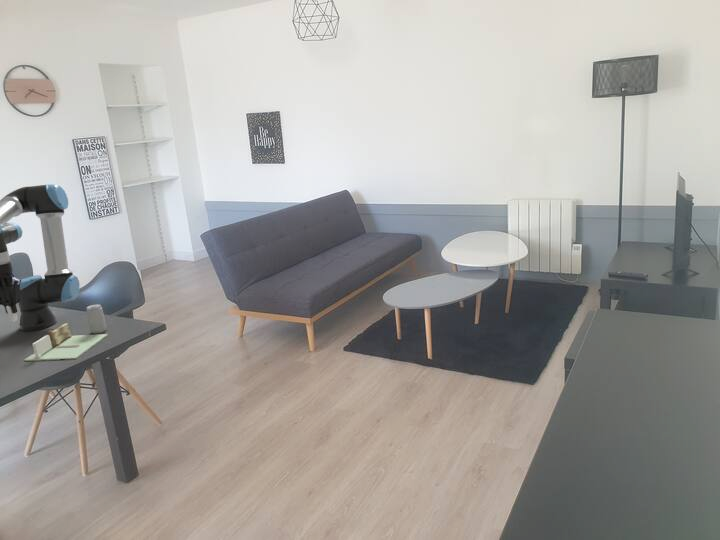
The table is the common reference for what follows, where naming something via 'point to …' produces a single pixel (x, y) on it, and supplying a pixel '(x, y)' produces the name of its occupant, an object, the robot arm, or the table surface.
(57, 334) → the fence fixed
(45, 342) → the panel
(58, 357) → the card
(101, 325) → the beverage can
